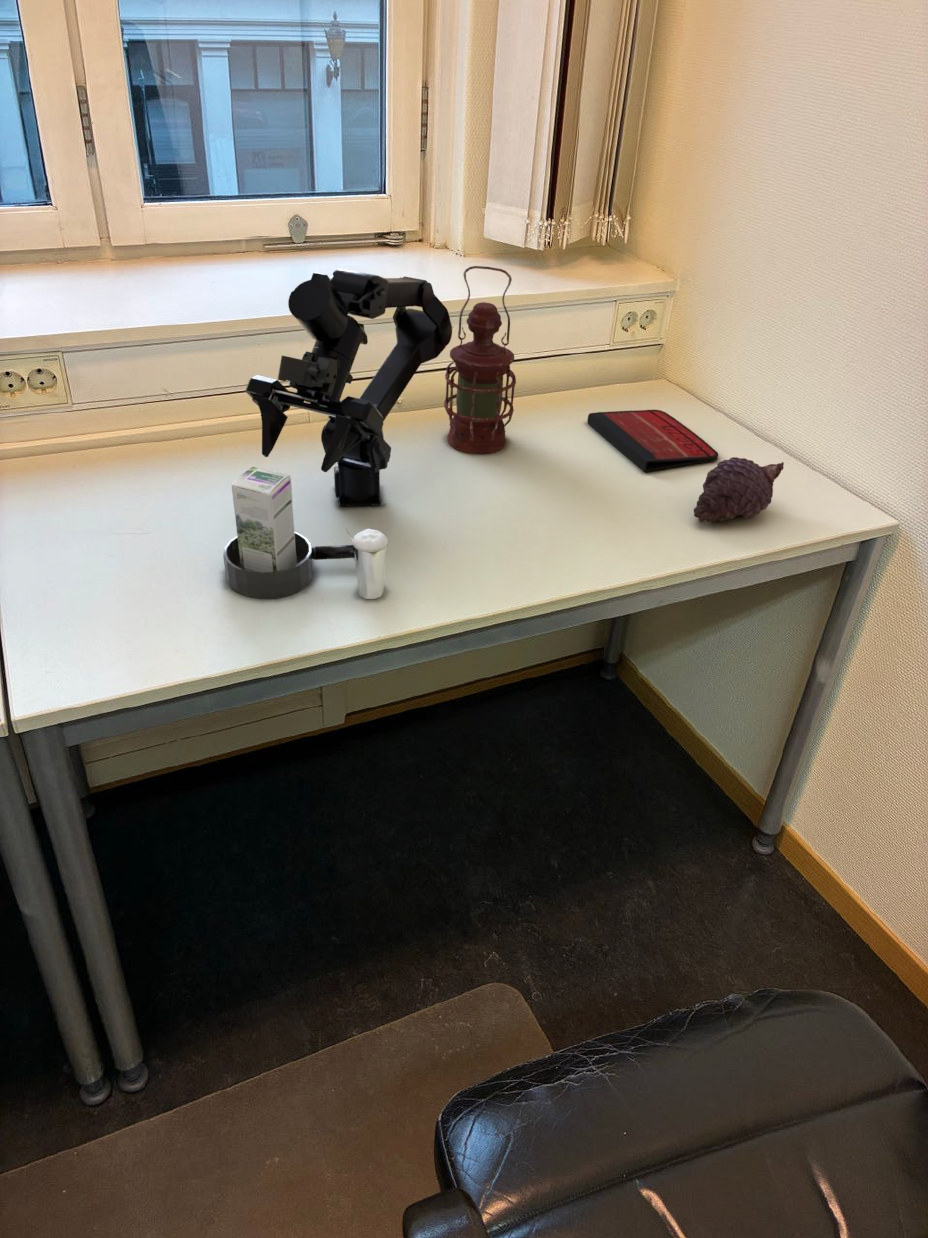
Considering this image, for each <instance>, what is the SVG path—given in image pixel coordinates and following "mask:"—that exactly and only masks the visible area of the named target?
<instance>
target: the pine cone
mask: <svg viewBox="0 0 928 1238" xmlns="http://www.w3.org/2000/svg"><path fill="white" fill-rule="evenodd" d="M784 466H785V463H784V461H782V462H778V463H770V464H767V465H764V466H760V465H759V464H758V463H756V462H754V460H752V459H747V458H745V457H742V458H741V457H737V456H735V457H734V456H733V457H730V458H729V459H723V460H722V461H718V463H717V464H716V466H715V467H714V468H713V469H711V470H709V471H707V473H706V477H705V481H704V482H703V484H702V490H703V492H702V493H701V494H699V496H698V500H697V501H696V506H695V507H694V508H693V516H694V517H695V518H697V519H698V522H699V523H702V522H707V523H715V522H717V521H719V522H720V521H721V522H725V521H727V520H732V519H735V518H736V517H737V516H740V515H741V516H743V518H746V519H749V518H750V517H751V516H757V515H759V514H760V513H761V512H762V511H763V510H766V509H767V508H768V507H769V505H770V504H772V502H773V501H772V499H773V494H774V487H773V486H774V483H775V480H776V479H778V477H779V476H780V475H781V472H782V471H783V470H784Z"/></svg>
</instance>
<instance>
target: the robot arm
mask: <svg viewBox="0 0 928 1238" xmlns="http://www.w3.org/2000/svg"><path fill="white" fill-rule="evenodd" d="M287 302H288V305H287V306H288V310H289V312H290V314H291V315H292V317H294V319H295V320H296V321H297V322H298V323H299V325H300V326H302V328H303V330H305V332H306V333H307V334H308V335H309V336H310V337H311V338H312V340H315V342H314V344H313V347H312V350H311V351H305V352H304V353H303V356H302V358H301V359H300V358H296V357H291V356H288V355H281V357H280V362H279V363H280V364H279V369H278V374H277V379H275V378H271V377H267V376H262V375H258V374H256V375H254V376H252V377H251V378H250V379H249V380H248V383H247V385H246V388H245V390H244V392H245V393H246V394H247V395H248V396H249V397H250V398H251V401H252V402H253V403H254V404H255V405H257V407H258V409H259V411H260V417H261V455H262V456H264V457H265V458H268V457H269V456H270V454H271V453H272V452H273V450H274V447H275V445H276V443H277V441H278V439H279V437H280V435H281V433H282V432H283V431H282V430H283V428H284V426H285V425H286V423H287V420H288V415H287V414H286V413H285V412H287V411H288V410H290V409H291V407H292V408H293V407H294V408H297V409H301V410H306V411H310V412H315V413H319V414H323V415H328V420H327V421H326V423H325V424H324V425H323V427H322V430H321V436H320V441H321V444H322V447H323V452H324V456H323V460H322V464H321V466H320V471H322V472H323V473H327V472H328V471H329V470H330V469H332V467H333V466H334V465H335V464H336V463H337V466H334V467H333V479H334V481H333V483H334V497H335V498H336V499H338V506H339V507H366V506H367V507H370V506H372V507H373V506H381V505H382V498H381V491H380V489H381V487H380V485H381V484H380V483H381V481H380V478H381V475H380V473H381V471H382V470H386V469H388V463H389V462H390V459H391V452H392V447H391V446H390V445H389V443H388V442H387V441H386V440H385V437H384V429H383V427H384V421H385V420H386V419H387V417H388V416H389V414H390V412H391V411H392V410H393V408H394V407H395V405H396V403H397V402H398V400H399V399H400V397H401V395H402V394H403V392H404V391H405V389H406V388H407V386H408V385H409V383H410V382H411V380H412V378H413V377H414V375H415V374H416V373H417V371H418V369H419V368H420V367H421V365H422V364H425V363H427V362H429V361H432V360H435V359H437V358H438V357H439V356H440V355H441V353H442V352H443V351H444V350H445V349H446V348H447V346H448V345H449V344H450V343H451V340H452V336H453V325H452V321H451V317H450V313H449V310H448V309H447V307H446V306H445V304H444V303H442V301H441V300H440V299H439V298H438V297H437V295H436V294H435V293H434V288H433V285H432V283H431V282H429V281H428V280H426V279H422V278H421V279H420V278H416V277H410V276H403V277H397V278H396V277H390V278H389V277H382V276H380V275H376V274H371V273H366V272H360V271H355V270H350V269H345V268H337V269H335V270H334V271H333V272H332V275H331V276H330V277H329V276H328V274H326V273H320V272H315V271H314V272H313V273H312V275H311V278H310V279H308V280H306V281H303V282H302V283H301V282H300V284H298V285H297V286H296V287H295V288H294V290H292V291H291V292H290V294H289V297H288V300H287ZM407 307H418V308H421V310H420V309H415V308H407ZM391 308H395V311H394V312H393V315H392V320H393V323H394V326H395V329H394V330H395V336H396V344H395V345H394V347H393V348H392V350H391V351H390V352H389V354H388V356H387V357H385V360H384V362H383V363H382V364H381V366H380V367H379V369H378V370H377V371H376V373H375V374H374V376H373V377H372V379H371V380H370V382H369V383H368V384H367V386H366V388H365V389H364V391H363V392H362V393H361V395H360V396H359V397H354V396H350V395H347V396H346V397H345V398H343V399H342V395H343V393H344V390H345V388H346V385H347V384H349V385H351V384H352V381H353V379H354V377H353V375H352V374H351V370H352V368H353V365H354V362H355V358H356V357H357V354H358V352H359V349H360V346H361V345H365V346H366V345H368V342H369V341H368V335H367V333H366V331H365V324H363V323H360V322H358V321H357V320H356V318H354V317H353V316H355V317H360V318H365V319H370V320H373V319H374V320H375V319H376V318H379V317H381V316H383V315H384V314H385V313H386V309H391ZM280 381H281V382H280ZM286 381H289V384H288V385H289V386H290V387H291V388H292V389H295V390H296V392H295V391H291V390H288V389H287V388H286V387H285V386H284V384H283V383H282V382H286ZM341 399H342V400H341Z"/></svg>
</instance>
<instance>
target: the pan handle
mask: <svg viewBox="0 0 928 1238" xmlns="http://www.w3.org/2000/svg"><path fill="white" fill-rule="evenodd" d="M342 559H344V560H345V559H355V556H354V549H353V544H344V545H319V546H312V560H313V561H314V560H316V561H317V560H342Z"/></svg>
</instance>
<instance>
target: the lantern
mask: <svg viewBox="0 0 928 1238" xmlns="http://www.w3.org/2000/svg"><path fill="white" fill-rule="evenodd" d="M473 269H474V270H475V269H480V270H491V271H496V272H501V273H503V274H505V275H506V276H507V277H508V283H507V285H506V288H505V290H504V292H503V294H502V298H501V302H502V307H503V308H504V312H505V314H506V317H507V328H506V329H507V330H506V332H504V335H503V336H502V338H501V339H500V342H501V345H500V344H498V343H496V342H494V340H493V339H494V335H495V334H496V333H498V332H499V331H500V328H501V326H502V325H503V321H502V317H501V314H500V313H499V312H498V308H497V305H495V304H494V303H491V302H486V301H484V302H483V301H482V302H477V303H476V304H474V305H473V307H472V310H471V311H470V312H469V313H468V317H467V318H466V324H467V327H468V330H469V331H470V332H471V333H473V334H472V338H473V340H472V341H468V342H466V343H463V340H466V336H467V333H466V332H465V331H464V327H462V318H463V314H464V310H465V309H466V307H467V305H468V303H469V301H470V297H471V290H470V286H469V283H468V280H467V273H468V272H469V271H470V270H473ZM463 279H464V282H465V285H466V287H467V293H468V295H467V299H466V301H465V303H464V304H463V306H462V307H461V310H460V313H459V319H458V331H457V338H458V339H459V341H460V344H459V345H456V346H454V347H452V348H451V349H450V351H449V357H450V359H451V360H452V362H450V363H449V364H448V365H447V366H446V372H445V376H444V379H445V381H446V382H445V383H446V386H445V399H444V401H443V407H444V409H445V411H446V414H447V415H448V419H449V426H450V427H449V431H448V434H447V437H446V440H447V443H448V444H449V446H450V447H452V448H453V449H456V450H457V451H459V452H462V453H465V454H474V455H475V454H476V455H488V454H493V453H497V452H498V451H501V450H503V449H504V448H505V446H506V444H507V439H506V427H507V426H508V424H509V423H510V422H511V420H512V419H513V415H514V412H515V409H514V395H515V394H514V393H515V388H516V384H517V379H516V375H515V373H514V371H513V370H511V365H512V364H513V362H514V361H515V353H514V352H513V351H511V349H508V348H506V346H508V345H509V344H510V343H509V342H510V334H511V333H510V331H511V317H510V314H509V312H508V310H507V307H506V304H505V296H506V293H507V291H508V289H509V288H510V286H511V284H512V281H513V280H512V279H513V278H512V275H511V274H510V273H509V272H508V271H507V270H505V269H502V268H499V267H491V266H483V265H482V266H481V265H472V266H469V267H468V268H466V269H465V270H464V272H463ZM462 332H463V337H461V334H462ZM505 337H506V342H504V339H505ZM502 345H503V346H502ZM452 365H455V367H452V368H451V366H452ZM457 373H458V375H457V383H455V375H456V374H457ZM505 375H506V376H505ZM450 376H451V377H450ZM504 376H505V377H506V380H505V381H506V382H505V386H504ZM510 378H511V382H510V384H509V381H510ZM454 388H455V389H456V393H455V394H454ZM449 389H450V394H449ZM510 389H511V395H510V399H508V398H509V396H508V392H509V390H510ZM503 392H505V393H504V394H505V395H504V396H503ZM449 395H450V396H449ZM454 399H455V405H456V412H454V410H453V405H454V404H453V403H454ZM502 405H503V410H502ZM508 406H509V409H508V411H507V413H506V410H507V407H508ZM501 410H502V412H501ZM506 418H508V420H506V422H504V419H506Z"/></svg>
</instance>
